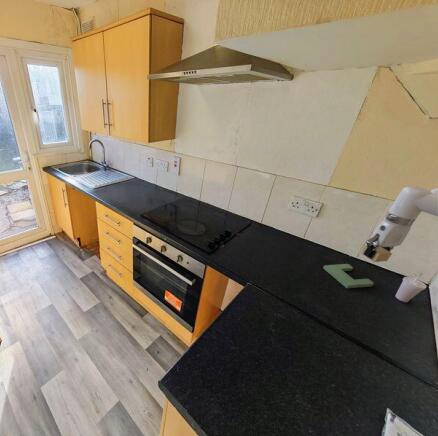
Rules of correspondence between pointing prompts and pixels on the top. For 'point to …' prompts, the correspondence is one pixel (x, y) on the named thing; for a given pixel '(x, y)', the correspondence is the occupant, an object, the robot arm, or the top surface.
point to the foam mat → (346, 276)
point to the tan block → (379, 254)
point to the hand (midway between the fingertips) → (374, 255)
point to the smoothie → (409, 288)
